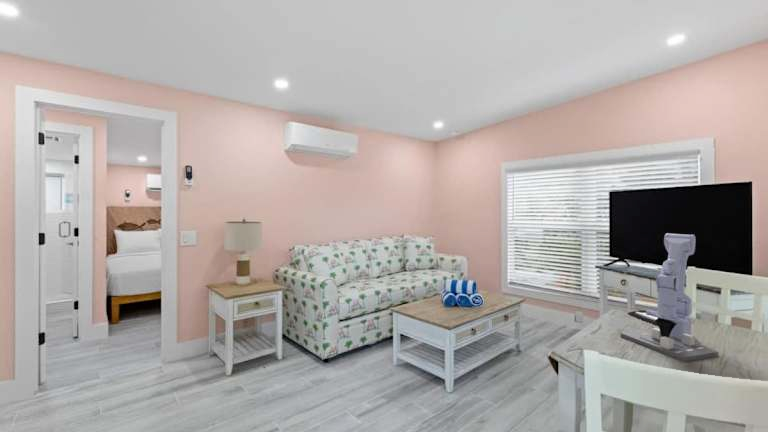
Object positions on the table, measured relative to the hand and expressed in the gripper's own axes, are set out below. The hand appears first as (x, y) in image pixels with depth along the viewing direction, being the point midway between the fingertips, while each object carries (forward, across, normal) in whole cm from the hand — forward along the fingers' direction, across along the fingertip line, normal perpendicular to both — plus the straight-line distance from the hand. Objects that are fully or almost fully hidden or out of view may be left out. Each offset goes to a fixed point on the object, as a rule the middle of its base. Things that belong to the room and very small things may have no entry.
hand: (665, 337), depth 136 cm
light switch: (+4, -24, +28) cm, 37 cm away
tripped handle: (+1, -3, 0) cm, 3 cm away
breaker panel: (+3, 0, 0) cm, 3 cm away
